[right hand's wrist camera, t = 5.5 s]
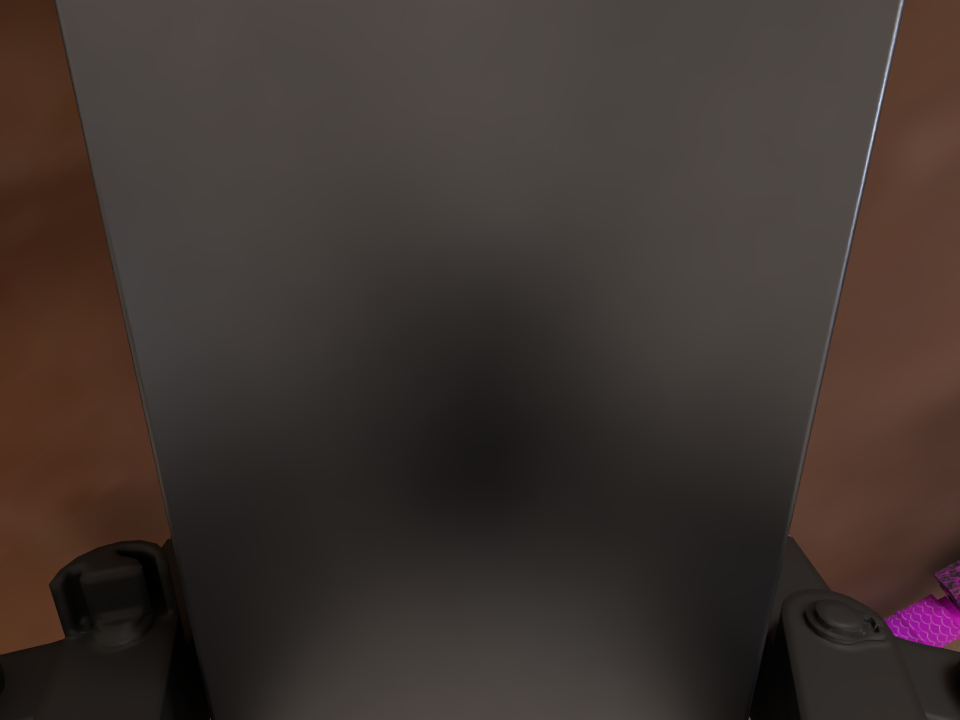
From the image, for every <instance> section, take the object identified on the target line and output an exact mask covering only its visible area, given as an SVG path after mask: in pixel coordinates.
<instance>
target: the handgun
mask: <svg viewBox="0 0 960 720" xmlns="http://www.w3.org/2000/svg"><path fill="white" fill-rule="evenodd" d="M933 575H934V576H935V577H936V579H937V580H938V582H939V583H940V586H941V588H942V589H943V591H944V592H945V593H946V594H947V596H948V597H949V599H950V600H949V599H948V598H947V597H946V596H944V597H943V598H941V599H939V600H937V599H936V598H935V597H934V596H933V595H932V594H931V595H929V596H927V597H925V598H923V599H921V600H920V601H918V602H916V603H914V604H912V605H911V606H909V607H907V608H905V609H903V610H901V611H899V610H898V611H896V612H895V614H894V615H892V616H890V617H889V618H887V619H885V622H886V623H887V625H888V626H889V628H890V629H891V631H892V632H893V634H894V635H895V636H896V637H899V638H903V639H906V640H909V641H913V642H918V643H922V644H926V645H931V646H935V647H939V648H941V647H943V646H945V645H947V644H949V643H951V642H952V641H954V640H956V639H958V638H960V559H959V560H958V561H956V562H954V563H952V564H950V565H949V566H947V567H945V568H943V569H941V570H940V571H938V572H936V573H934V574H933ZM749 717H750V715H749Z"/></svg>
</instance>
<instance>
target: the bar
mask: <svg viewBox="0 0 960 720" xmlns="http://www.w3.org/2000/svg"><path fill="white" fill-rule="evenodd" d="M54 2H55V7H56V12H57V16H58V21H59V25H60V30H61V34H62V39H63V44H64V48H65V53H66V57H67V62H68V67H69V71H70V76H71V80H72V85H73V89H74V94H75V99H76V103H77V108H78V112H79V117H80V121H81V126H82V131H83V135H84V140H85V144H86V149H87V153H88V158H89V163H90V167H91V172H92V176H93V181H94V186H95V190H96V195H97V199H98V204H99V208H100V213H101V218H102V222H103V227H104V231H105V236H106V240H107V245H108V250H109V254H110V259H111V263H112V268H113V273H114V277H115V282H116V286H117V291H118V295H119V300H120V305H121V309H122V314H123V318H124V323H125V327H126V332H127V337H128V341H129V346H130V350H131V355H132V360H133V364H134V369H135V373H136V378H137V382H138V387H139V392H140V396H141V401H142V405H143V410H144V414H145V419H146V424H147V428H148V433H149V437H150V442H151V447H152V451H153V456H154V460H155V465H156V469H157V474H158V479H159V483H160V488H161V492H162V497H163V501H164V506H165V511H166V515H167V520H168V524H169V529H170V534H171V538H172V543H173V547H174V552H175V556H176V561H177V566H178V570H179V575H180V579H181V584H182V588H183V593H184V598H185V602H186V607H187V611H188V616H189V620H190V625H191V630H192V634H193V639H194V643H195V648H196V653H197V657H198V662H199V666H200V671H201V675H202V680H203V685H204V689H205V694H206V698H207V703H208V707H209V712H210V717H211V720H748V718H749V714H750V709H751V705H752V700H753V695H754V691H755V686H756V682H757V677H758V673H759V668H760V663H761V659H762V654H763V650H764V645H765V640H766V636H767V631H768V627H769V622H770V618H771V613H772V608H773V604H774V599H775V595H776V590H777V586H778V581H779V576H780V572H781V567H782V563H783V558H784V553H785V549H786V544H787V540H788V535H789V531H790V526H791V521H792V517H793V512H794V508H795V503H796V499H797V494H798V489H799V485H800V480H801V476H802V471H803V466H804V462H805V457H806V453H807V448H808V444H809V439H810V434H811V430H812V425H813V421H814V416H815V412H816V407H817V402H818V398H819V393H820V389H821V384H822V379H823V375H824V370H825V366H826V361H827V357H828V352H829V347H830V343H831V338H832V334H833V329H834V325H835V320H836V315H837V311H838V306H839V302H840V297H841V292H842V288H843V283H844V279H845V274H846V270H847V265H848V260H849V256H850V251H851V247H852V242H853V237H854V233H855V228H856V224H857V219H858V215H859V210H860V205H861V201H862V196H863V192H864V187H865V183H866V178H867V173H868V169H869V164H870V160H871V155H872V150H873V146H874V141H875V137H876V132H877V128H878V123H879V118H880V114H881V109H882V105H883V100H884V96H885V91H886V86H887V82H888V77H889V73H890V68H891V63H892V59H893V54H894V50H895V45H896V41H897V36H898V31H899V27H900V22H901V18H902V13H903V9H904V4H905V0H54Z"/></svg>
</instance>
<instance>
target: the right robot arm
mask: <svg viewBox="0 0 960 720" xmlns="http://www.w3.org/2000/svg"><path fill="white" fill-rule="evenodd" d="M49 587H50V590H51V593H52V596H53V599H54V602H55V606H56V609H57V612H58V615H59V618H60V621H61V625H62V628H63V631H64V634H65V639H63V640H59V641H56V642H53V643H49V644H45V645H41V646H36V647H32V648H28V649H24V650H19V651H15V652H11V653H6V654H2V655H0V720H210V718H211V717H210V712H209V707H208V703H207V698H206V694H205V689H204V685H203V680H202V675H201V671H200V666H199V662H198V657H197V653H196V648H195V643H194V639H193V634H192V630H191V625H190V620H189V616H188V611H187V607H186V602H185V598H184V593H183V588H182V584H181V579H180V575H179V570H178V566H177V561H176V556H175V552H174V547H173V543H172V538H170V539H168V540H167V541H166V542H165V544H164V545H163V547H162V548H161V547H160V546H159V545H157V544H155V543H151V542H146V541H142V540H136V541H120V542H117V543H113V544H109V545H105V546H102V547H98V548H96V549H94V550H92V551H90V552H88V553H85V554H83V555H81V556H79V557H77V558H76V559H74V560H73V561H72V562H70V563H69V564H68V565H66V566H65V567H64V568H62V569H61V570H60V571H59V572H58V573H57V575H56V576H55V577H54V578H53V580H52V581H51V582H50V584H49ZM749 715H750V718H751V720H960V652H957V651H952V650H948V649H944V648H939V647H935V646H931V645H926V644H922V643H918V642H913V641H909V640H906V639H903V638H899V637H896V636H895V635H894V634H893V632H892V631H891V629H890V628H889V626H888V625H887V623H886V622H885V620H883V619H882V618H881V617H880V616H879V615H877V614H876V613H875V612H874V611H873V610H872V609H870V608H869V607H868V606H866V605H864V604H862V603H860V602H858V601H856V600H854V599H853V598H851V597H849V596H846V595H843V594H839V593H836V592H833V591H831V590H830V588H829V587H828V586H827V584H826V583H825V581H824V580H823V579H822V577H821V576H820V575H819V573H818V572H817V570H816V569H815V568H814V566H813V565H812V564H811V562H810V561H809V559H808V558H807V557H806V555H805V554H804V553H803V551H802V550H801V548H800V547H799V546H798V544H797V543H796V542H795V540H794V539H793V537H790V536H789V535H788V540H787V544H786V549H785V553H784V558H783V563H782V567H781V572H780V576H779V581H778V586H777V590H776V595H775V599H774V604H773V608H772V613H771V618H770V622H769V627H768V631H767V636H766V640H765V645H764V650H763V654H762V659H761V663H760V668H759V673H758V677H757V682H756V686H755V691H754V695H753V700H752V705H751V709H750V714H749Z"/></svg>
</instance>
